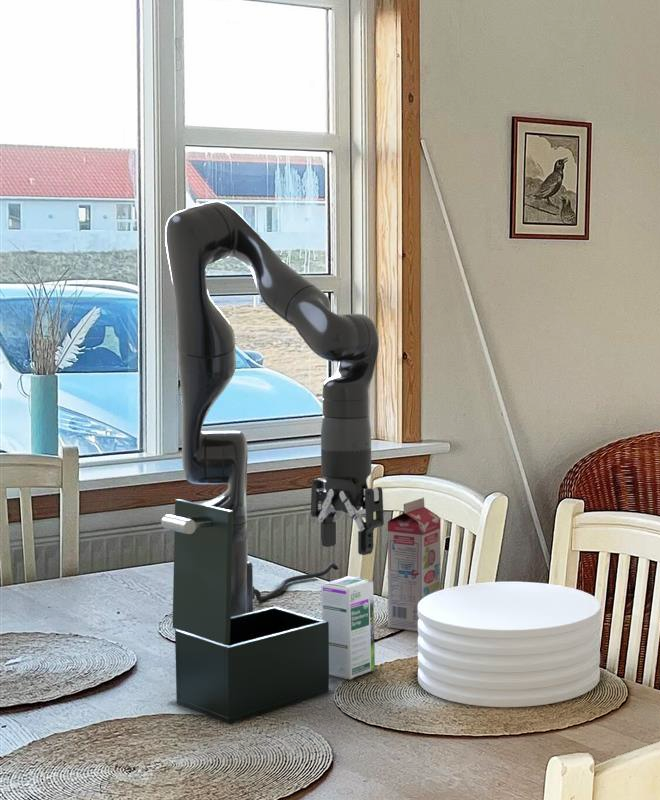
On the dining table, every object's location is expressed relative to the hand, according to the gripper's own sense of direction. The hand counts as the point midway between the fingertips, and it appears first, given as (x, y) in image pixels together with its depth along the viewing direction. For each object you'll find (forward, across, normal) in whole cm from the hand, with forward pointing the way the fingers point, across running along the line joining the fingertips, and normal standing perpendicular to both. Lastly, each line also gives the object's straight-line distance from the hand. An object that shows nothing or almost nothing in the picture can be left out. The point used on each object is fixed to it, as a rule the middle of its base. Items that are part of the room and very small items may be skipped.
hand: (346, 550), depth 208 cm
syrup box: (+20, 0, 0) cm, 20 cm away
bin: (+19, +1, +17) cm, 26 cm away
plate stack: (+20, -20, -15) cm, 32 cm away
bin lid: (-1, +1, +25) cm, 25 cm away
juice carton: (+19, +12, -25) cm, 34 cm away
